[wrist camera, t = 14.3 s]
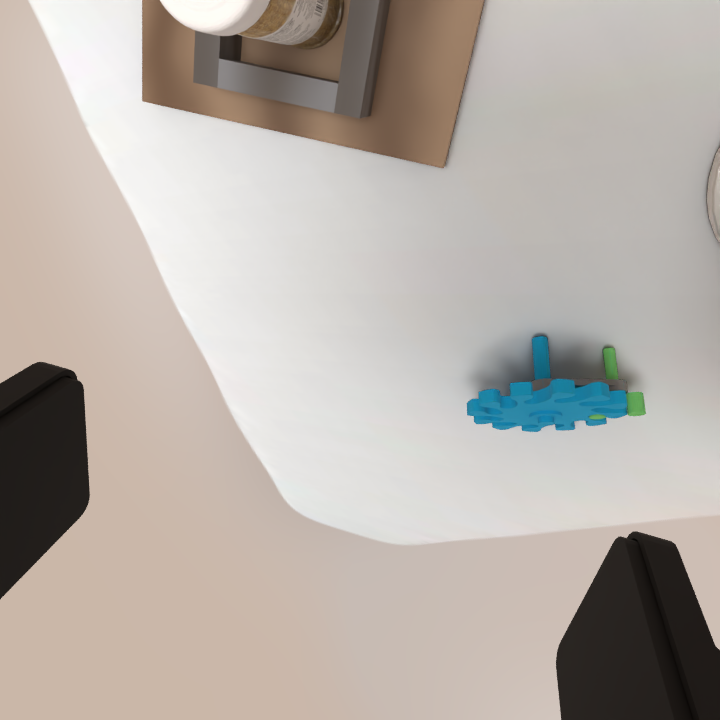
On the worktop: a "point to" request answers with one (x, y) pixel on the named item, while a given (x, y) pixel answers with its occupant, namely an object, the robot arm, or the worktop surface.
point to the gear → (557, 398)
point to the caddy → (326, 76)
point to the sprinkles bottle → (262, 19)
